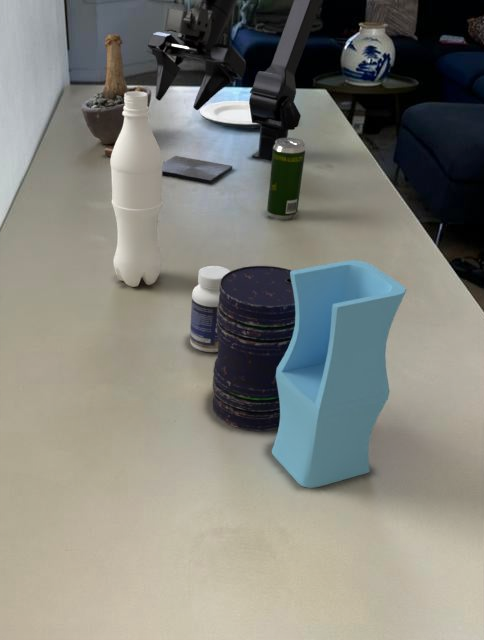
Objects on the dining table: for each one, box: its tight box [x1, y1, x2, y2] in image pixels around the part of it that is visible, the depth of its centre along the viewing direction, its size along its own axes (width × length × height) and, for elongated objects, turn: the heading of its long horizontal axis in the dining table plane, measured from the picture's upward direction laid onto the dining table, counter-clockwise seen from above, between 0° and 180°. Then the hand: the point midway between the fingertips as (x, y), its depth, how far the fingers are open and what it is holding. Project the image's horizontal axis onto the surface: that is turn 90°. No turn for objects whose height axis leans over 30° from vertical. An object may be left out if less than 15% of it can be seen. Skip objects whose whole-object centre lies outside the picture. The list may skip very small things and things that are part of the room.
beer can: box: [266, 137, 306, 220], centre depth 131 cm, size 5×5×12 cm
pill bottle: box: [189, 265, 231, 353], centre depth 96 cm, size 5×5×10 cm
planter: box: [81, 33, 152, 146], centre depth 161 cm, size 15×17×20 cm
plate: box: [199, 100, 261, 129], centre depth 180 cm, size 21×21×2 cm
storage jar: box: [211, 265, 296, 432], centre depth 83 cm, size 10×10×15 cm
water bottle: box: [109, 91, 164, 288], centre depth 106 cm, size 7×7×25 cm
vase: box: [271, 259, 407, 489], centre depth 74 cm, size 8×8×20 cm
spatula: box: [104, 145, 233, 185], centre depth 154 cm, size 26×10×2 cm, turn 61°
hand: (176, 104), depth 134 cm, fingers open, 9 cm apart
